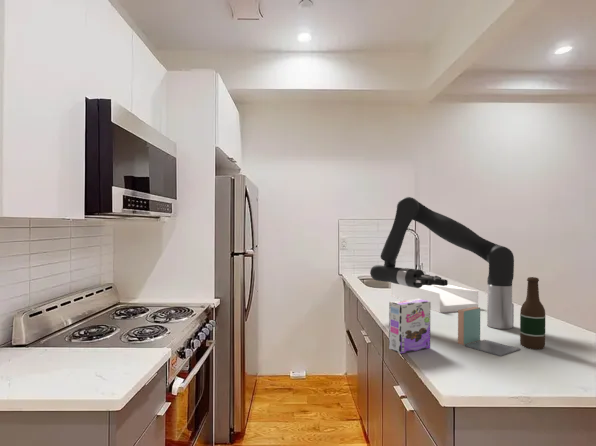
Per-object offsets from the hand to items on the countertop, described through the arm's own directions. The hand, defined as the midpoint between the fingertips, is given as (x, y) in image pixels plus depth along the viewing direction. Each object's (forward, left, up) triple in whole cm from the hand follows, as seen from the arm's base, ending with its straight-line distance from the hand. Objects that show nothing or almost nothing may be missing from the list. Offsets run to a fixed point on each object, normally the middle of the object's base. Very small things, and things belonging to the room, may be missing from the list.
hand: (445, 283), depth 160 cm
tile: (-2, +10, -20) cm, 22 cm away
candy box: (+23, +8, -20) cm, 32 cm away
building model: (-39, -52, -21) cm, 68 cm away
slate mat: (-3, +19, -20) cm, 27 cm away
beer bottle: (-18, +23, -20) cm, 35 cm away
